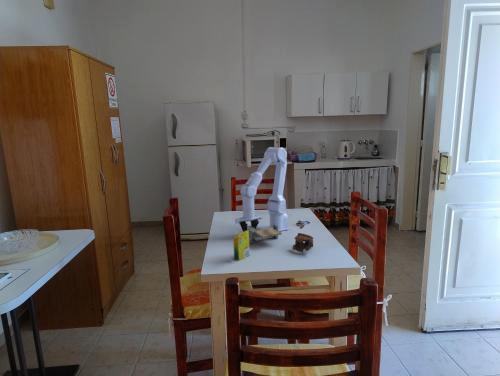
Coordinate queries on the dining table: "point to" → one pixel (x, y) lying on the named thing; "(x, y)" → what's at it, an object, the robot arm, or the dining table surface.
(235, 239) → the crayon box
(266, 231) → the trapdoor
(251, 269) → the dining table surface
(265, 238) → the frame
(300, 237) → the brown figurine
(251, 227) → the grey rectangular block
